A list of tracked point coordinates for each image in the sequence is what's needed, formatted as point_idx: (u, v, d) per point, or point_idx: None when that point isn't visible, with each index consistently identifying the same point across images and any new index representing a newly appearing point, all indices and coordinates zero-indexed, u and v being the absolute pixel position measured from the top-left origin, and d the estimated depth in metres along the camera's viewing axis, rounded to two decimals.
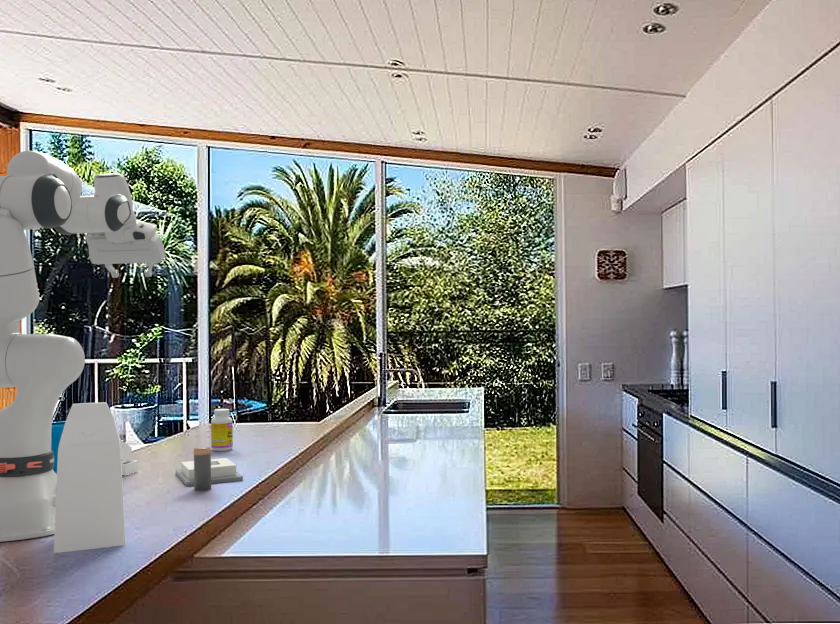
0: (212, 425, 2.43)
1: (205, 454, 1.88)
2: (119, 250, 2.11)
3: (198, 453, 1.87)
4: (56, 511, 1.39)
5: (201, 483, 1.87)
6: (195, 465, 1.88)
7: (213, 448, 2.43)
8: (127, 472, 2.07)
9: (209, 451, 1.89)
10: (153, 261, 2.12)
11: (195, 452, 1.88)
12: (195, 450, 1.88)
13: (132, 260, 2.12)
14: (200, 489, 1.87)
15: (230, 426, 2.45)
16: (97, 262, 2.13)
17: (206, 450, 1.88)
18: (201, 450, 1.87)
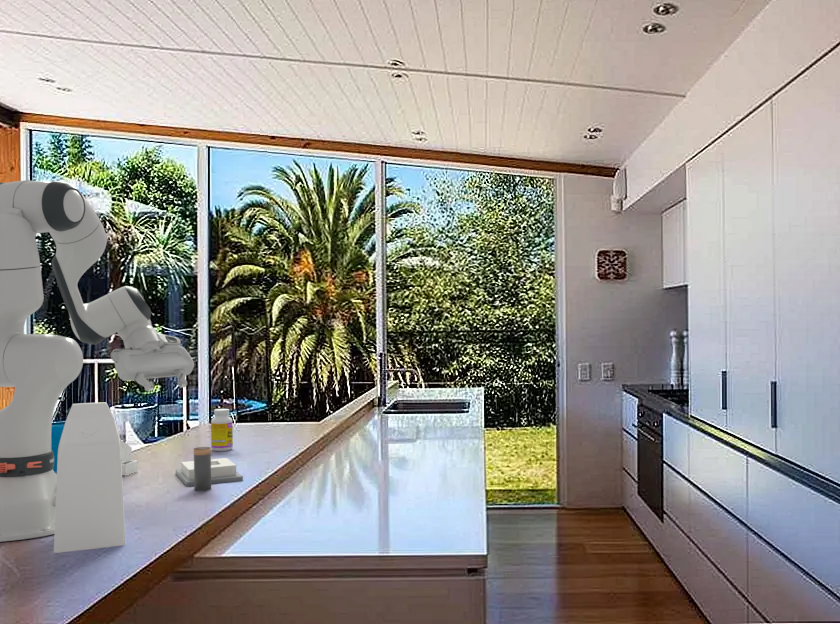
0: (212, 425, 2.43)
1: (205, 454, 1.88)
2: (151, 358, 1.96)
3: (197, 453, 1.87)
4: (56, 511, 1.39)
5: (201, 483, 1.87)
6: (195, 465, 1.88)
7: (213, 448, 2.43)
8: (127, 472, 2.07)
9: (209, 451, 1.89)
10: (188, 366, 2.02)
11: (195, 452, 1.88)
12: (195, 450, 1.88)
13: (167, 365, 1.97)
14: (200, 489, 1.87)
15: (230, 426, 2.45)
16: (132, 369, 1.90)
17: (206, 450, 1.88)
18: (201, 450, 1.87)
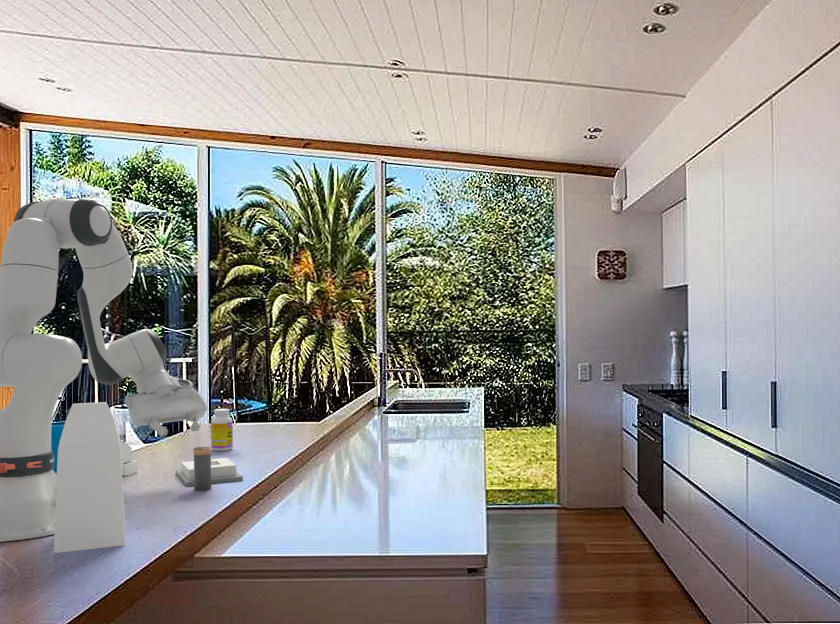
0: (212, 425, 2.43)
1: (205, 454, 1.88)
2: (165, 403, 1.97)
3: (197, 453, 1.87)
4: (56, 511, 1.39)
5: (201, 483, 1.87)
6: (195, 465, 1.88)
7: (213, 448, 2.43)
8: (127, 472, 2.07)
9: (209, 451, 1.89)
10: (200, 409, 2.02)
11: (195, 452, 1.88)
12: (195, 450, 1.88)
13: (180, 409, 1.98)
14: (200, 489, 1.87)
15: (230, 426, 2.45)
16: (146, 415, 1.90)
17: (206, 450, 1.88)
18: (201, 450, 1.87)
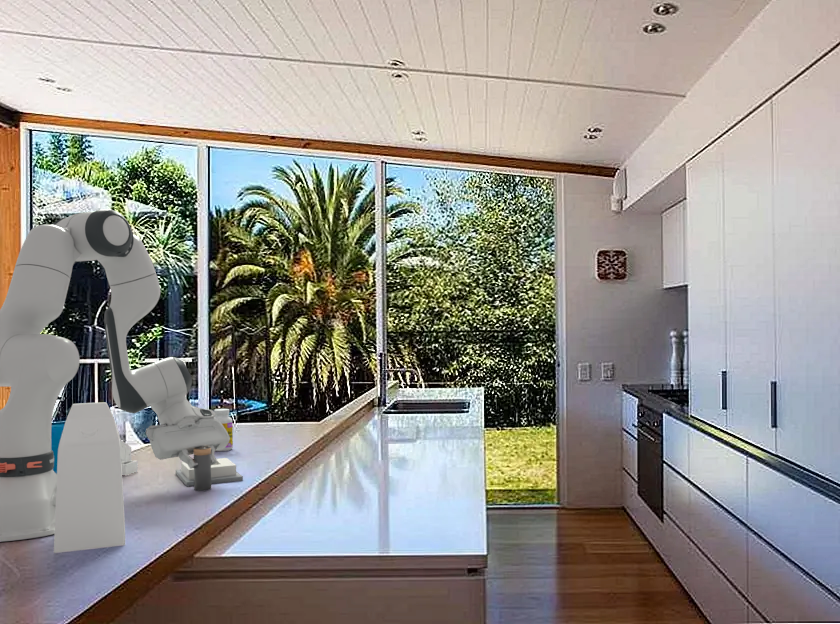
0: None
1: (205, 454, 1.88)
2: (187, 434, 1.91)
3: (197, 453, 1.87)
4: (56, 511, 1.39)
5: (201, 483, 1.87)
6: None
7: None
8: (127, 472, 2.07)
9: (209, 451, 1.89)
10: (223, 440, 1.96)
11: (195, 452, 1.88)
12: (195, 450, 1.88)
13: (203, 441, 1.92)
14: (200, 489, 1.87)
15: (230, 426, 2.45)
16: (169, 448, 1.84)
17: (206, 450, 1.88)
18: (201, 450, 1.87)
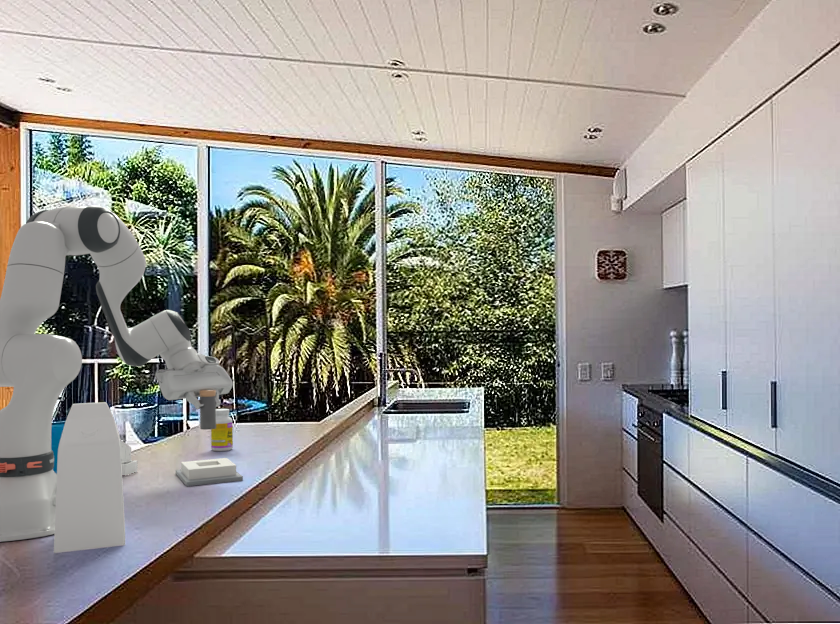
0: None
1: (210, 395, 2.02)
2: (193, 378, 2.05)
3: (203, 394, 2.02)
4: (56, 511, 1.39)
5: (206, 423, 2.02)
6: None
7: (213, 448, 2.43)
8: (127, 472, 2.07)
9: (214, 393, 2.03)
10: (227, 385, 2.11)
11: (201, 394, 2.02)
12: (201, 392, 2.02)
13: (208, 385, 2.06)
14: (206, 428, 2.02)
15: (230, 426, 2.45)
16: (176, 389, 1.99)
17: (211, 392, 2.02)
18: (207, 392, 2.02)
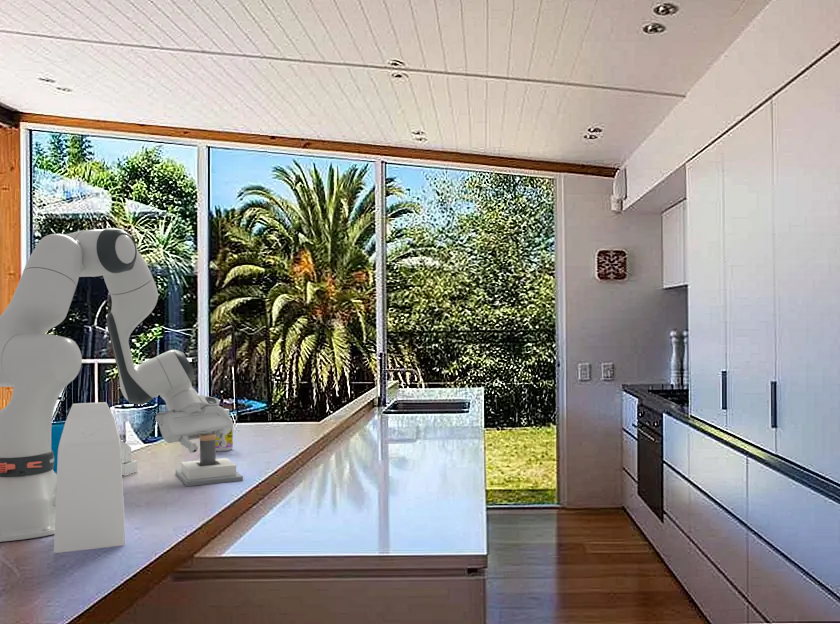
0: None
1: (210, 440, 2.02)
2: (193, 420, 2.05)
3: (203, 439, 2.01)
4: (56, 511, 1.39)
5: None
6: (201, 450, 2.02)
7: None
8: (127, 472, 2.07)
9: (214, 437, 2.03)
10: (227, 426, 2.11)
11: (201, 438, 2.02)
12: (201, 436, 2.02)
13: (208, 426, 2.06)
14: None
15: None
16: (177, 432, 1.99)
17: (211, 436, 2.02)
18: (207, 436, 2.01)
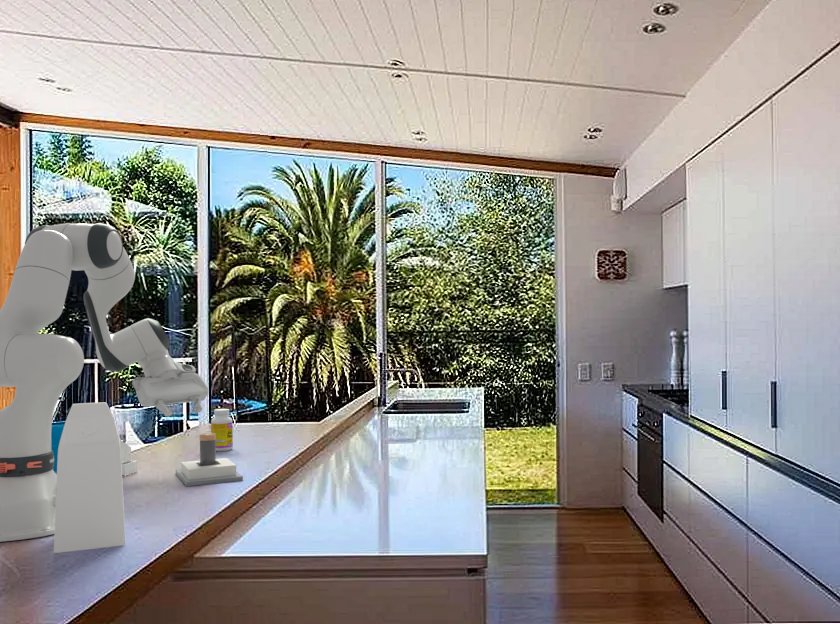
0: (212, 425, 2.43)
1: (210, 440, 2.02)
2: (169, 386, 2.13)
3: (203, 439, 2.01)
4: (56, 511, 1.39)
5: None
6: (201, 450, 2.02)
7: None
8: (126, 472, 2.07)
9: (214, 437, 2.03)
10: (203, 392, 2.18)
11: (201, 438, 2.02)
12: (201, 436, 2.02)
13: (184, 392, 2.13)
14: None
15: (230, 426, 2.45)
16: (152, 396, 2.06)
17: (211, 436, 2.02)
18: (207, 436, 2.01)
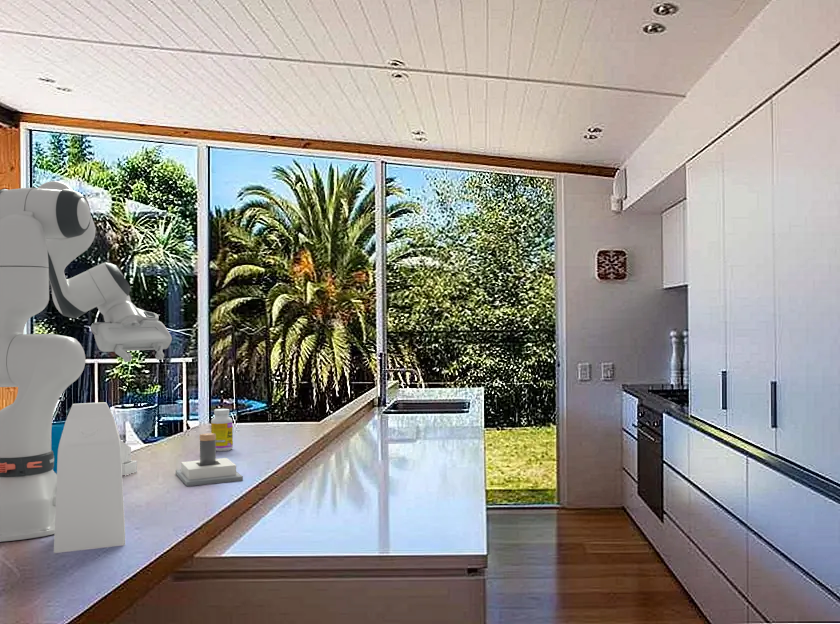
0: (212, 425, 2.43)
1: (210, 440, 2.02)
2: (130, 331, 2.05)
3: (203, 439, 2.01)
4: (56, 511, 1.39)
5: None
6: (201, 450, 2.02)
7: None
8: (126, 472, 2.07)
9: (214, 437, 2.03)
10: (165, 339, 2.10)
11: (201, 438, 2.02)
12: (201, 436, 2.02)
13: (145, 338, 2.06)
14: None
15: (230, 426, 2.45)
16: (111, 341, 1.98)
17: (211, 436, 2.02)
18: (207, 436, 2.01)
